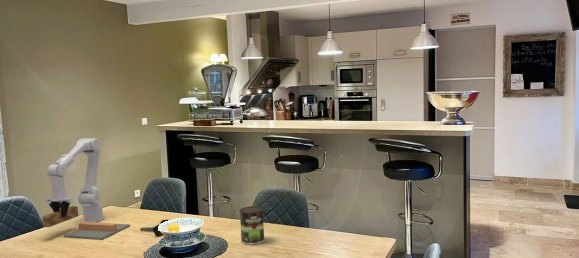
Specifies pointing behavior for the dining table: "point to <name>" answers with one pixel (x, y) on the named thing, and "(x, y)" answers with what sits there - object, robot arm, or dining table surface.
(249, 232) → the coffee can
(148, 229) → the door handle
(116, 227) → the stand
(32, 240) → the dining table surface
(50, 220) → the walnut beam
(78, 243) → the dining table surface
